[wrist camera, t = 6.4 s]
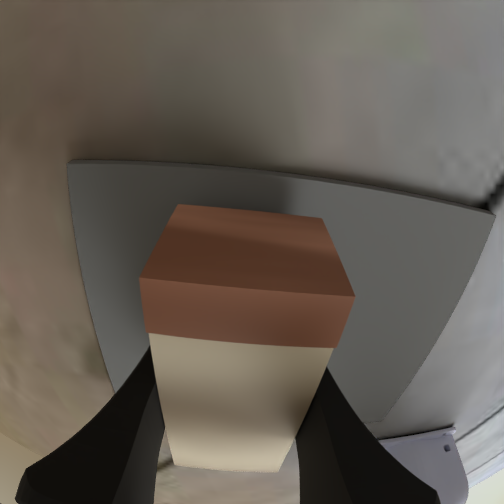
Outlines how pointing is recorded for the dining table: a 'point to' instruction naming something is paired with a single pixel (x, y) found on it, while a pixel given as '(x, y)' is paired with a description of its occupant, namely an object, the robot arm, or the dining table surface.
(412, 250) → the rubber mat
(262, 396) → the brown and cream block
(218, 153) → the dining table surface
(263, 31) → the dining table surface
